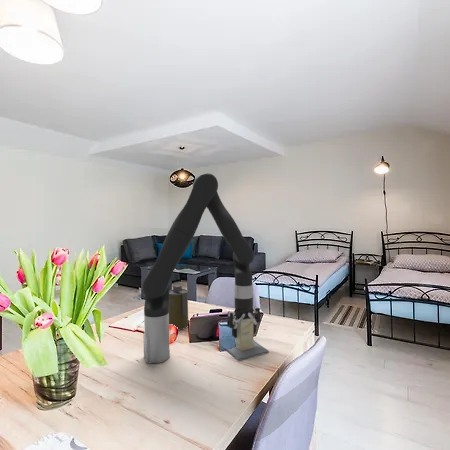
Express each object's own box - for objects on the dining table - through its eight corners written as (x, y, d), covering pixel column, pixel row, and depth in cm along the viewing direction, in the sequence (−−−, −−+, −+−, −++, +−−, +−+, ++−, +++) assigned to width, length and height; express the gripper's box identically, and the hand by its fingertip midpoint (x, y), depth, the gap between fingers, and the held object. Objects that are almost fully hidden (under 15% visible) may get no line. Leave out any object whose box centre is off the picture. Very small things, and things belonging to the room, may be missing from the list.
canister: (163, 326, 144) (162, 286, 143) (181, 320, 151) (180, 282, 151) (175, 332, 136) (174, 290, 136) (193, 326, 143) (192, 286, 143)
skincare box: (240, 351, 114) (240, 320, 114) (235, 347, 118) (234, 317, 118) (254, 347, 117) (253, 318, 117) (248, 343, 121) (247, 314, 121)
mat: (237, 361, 108) (237, 358, 108) (221, 346, 121) (221, 344, 121) (268, 352, 115) (268, 350, 115) (249, 339, 127) (249, 337, 127)
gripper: (253, 291, 124) (254, 328, 124) (223, 295, 117) (224, 335, 118) (263, 295, 117) (264, 335, 118) (232, 300, 111) (233, 342, 111)
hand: (244, 335), depth 118 cm, fingers open, 8 cm apart
